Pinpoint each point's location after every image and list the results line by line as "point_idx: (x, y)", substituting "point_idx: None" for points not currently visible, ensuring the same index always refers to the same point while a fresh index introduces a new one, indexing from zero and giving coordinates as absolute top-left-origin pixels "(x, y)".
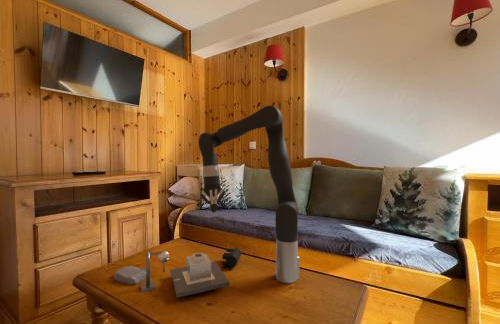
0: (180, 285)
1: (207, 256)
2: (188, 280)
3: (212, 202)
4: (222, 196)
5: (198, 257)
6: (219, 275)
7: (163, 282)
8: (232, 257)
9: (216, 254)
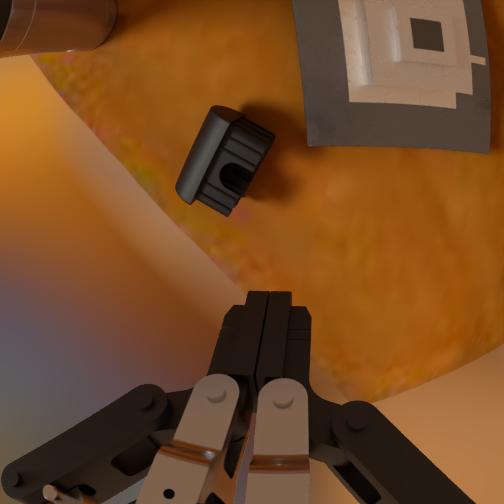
0: (467, 14)
1: (371, 43)
2: None
3: (274, 408)
4: (68, 442)
5: (429, 9)
6: (315, 13)
7: (497, 124)
8: (225, 115)
9: (272, 261)
